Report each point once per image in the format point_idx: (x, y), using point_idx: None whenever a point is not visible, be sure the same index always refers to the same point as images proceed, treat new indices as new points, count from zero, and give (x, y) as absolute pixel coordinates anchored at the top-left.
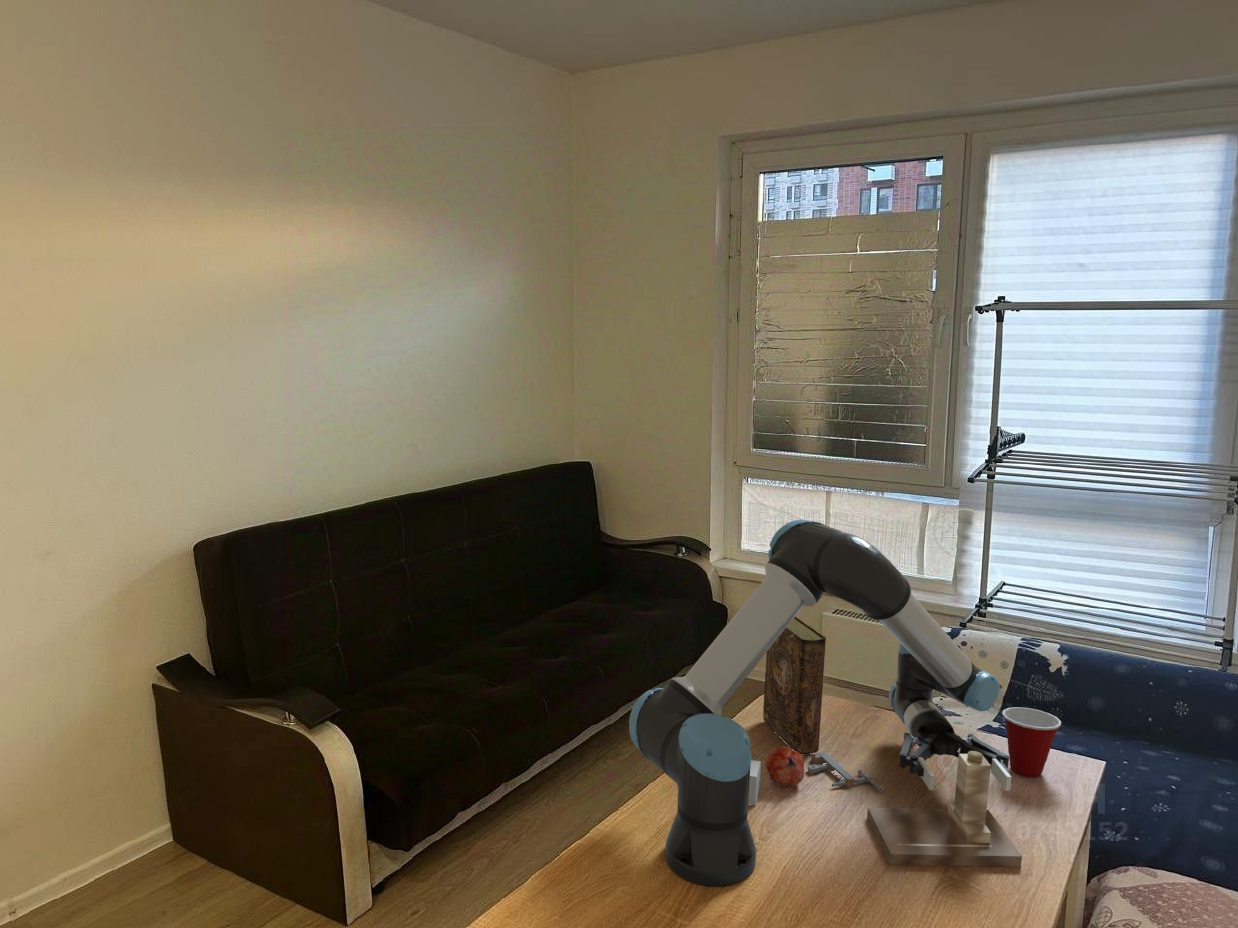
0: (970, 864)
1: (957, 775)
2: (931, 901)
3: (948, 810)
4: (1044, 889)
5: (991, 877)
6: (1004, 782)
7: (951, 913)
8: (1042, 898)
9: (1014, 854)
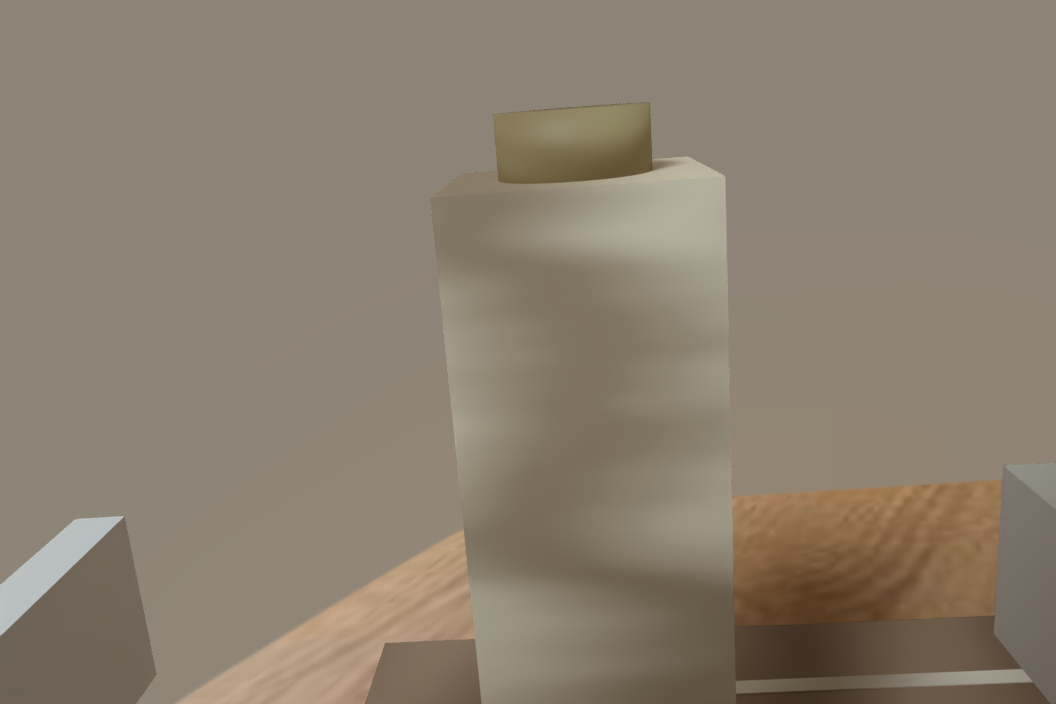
0: None
1: (728, 449)
2: (930, 529)
3: None
4: (386, 603)
5: None
6: (119, 639)
7: (848, 501)
8: (434, 569)
9: (419, 653)
